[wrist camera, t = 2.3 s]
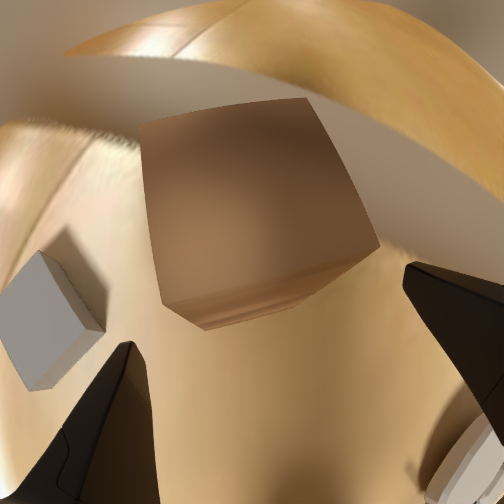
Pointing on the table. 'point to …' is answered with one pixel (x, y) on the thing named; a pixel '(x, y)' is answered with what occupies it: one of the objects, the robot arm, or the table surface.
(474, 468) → the robot toy
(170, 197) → the walnut block
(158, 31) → the table surface
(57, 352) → the base slab
